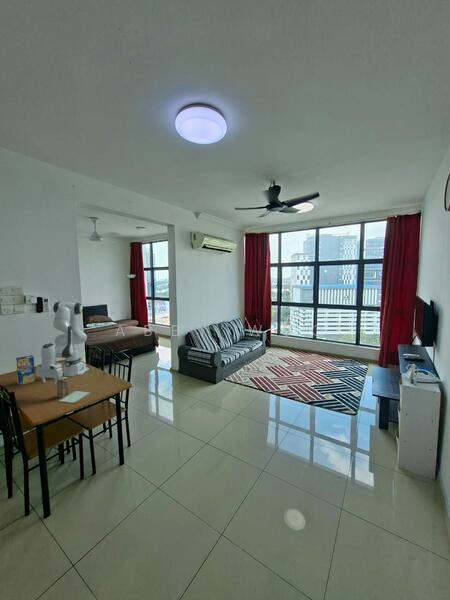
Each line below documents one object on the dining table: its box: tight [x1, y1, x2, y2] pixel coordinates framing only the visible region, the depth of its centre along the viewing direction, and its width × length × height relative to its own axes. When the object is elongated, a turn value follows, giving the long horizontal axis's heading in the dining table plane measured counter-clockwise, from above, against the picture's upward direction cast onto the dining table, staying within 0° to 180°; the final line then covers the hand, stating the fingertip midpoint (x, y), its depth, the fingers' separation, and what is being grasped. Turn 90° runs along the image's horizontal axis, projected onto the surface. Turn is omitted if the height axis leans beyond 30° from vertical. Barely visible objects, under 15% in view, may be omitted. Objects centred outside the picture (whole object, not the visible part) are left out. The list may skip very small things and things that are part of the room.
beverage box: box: [16, 354, 36, 386], centre depth 208 cm, size 7×11×22 cm, turn 136°
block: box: [56, 376, 70, 399], centre depth 185 cm, size 5×5×14 cm
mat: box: [57, 390, 92, 404], centre depth 184 cm, size 16×14×1 cm
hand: (49, 382), depth 186 cm, fingers open, 8 cm apart
